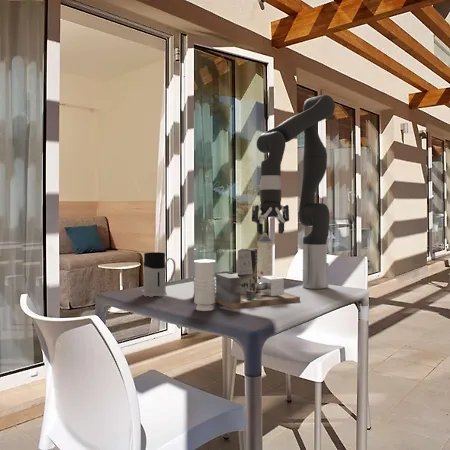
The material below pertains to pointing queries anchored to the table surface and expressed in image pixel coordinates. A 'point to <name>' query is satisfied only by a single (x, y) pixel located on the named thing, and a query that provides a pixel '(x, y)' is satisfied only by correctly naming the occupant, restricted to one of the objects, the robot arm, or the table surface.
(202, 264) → the candle
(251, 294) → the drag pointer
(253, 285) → the coffee box
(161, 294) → the grey handled cylinder
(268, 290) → the white block
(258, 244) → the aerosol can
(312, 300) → the table surface
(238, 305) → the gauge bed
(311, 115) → the robot arm
